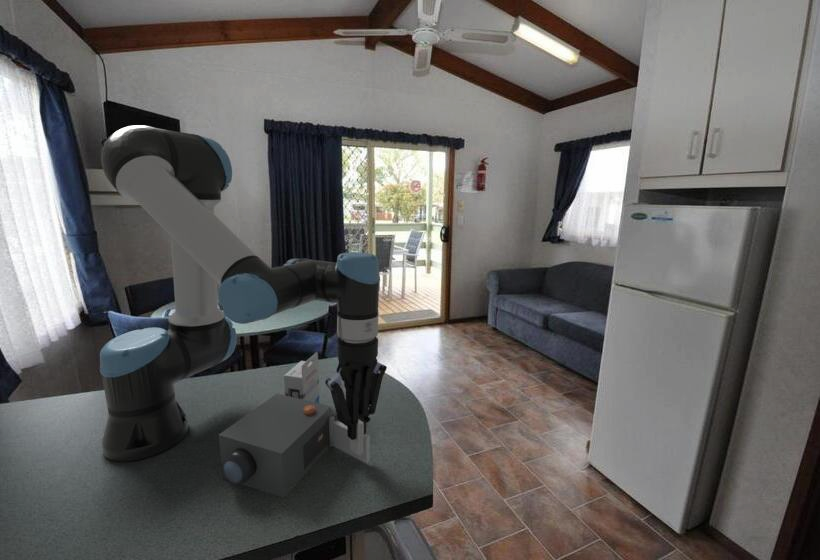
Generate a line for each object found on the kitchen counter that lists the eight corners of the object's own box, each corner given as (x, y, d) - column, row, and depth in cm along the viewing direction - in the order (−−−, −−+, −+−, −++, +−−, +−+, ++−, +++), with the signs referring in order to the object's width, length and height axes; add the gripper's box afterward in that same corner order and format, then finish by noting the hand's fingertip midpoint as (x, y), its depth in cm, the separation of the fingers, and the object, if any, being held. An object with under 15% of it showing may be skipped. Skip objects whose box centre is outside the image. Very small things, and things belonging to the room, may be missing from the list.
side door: (333, 446, 78) (333, 422, 77) (339, 442, 79) (338, 419, 78) (366, 463, 73) (366, 438, 72) (371, 458, 74) (371, 434, 73)
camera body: (210, 487, 67) (205, 439, 65) (278, 429, 85) (276, 390, 82) (279, 511, 62) (276, 461, 60) (337, 445, 80) (336, 403, 78)
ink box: (302, 401, 96) (300, 348, 93) (320, 404, 95) (318, 350, 92) (285, 420, 88) (282, 363, 85) (304, 423, 87) (302, 365, 84)
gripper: (340, 350, 61) (340, 476, 66) (396, 334, 70) (393, 446, 75) (316, 338, 67) (318, 455, 71) (372, 325, 75) (370, 430, 80)
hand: (356, 450), depth 73 cm, fingers closed
